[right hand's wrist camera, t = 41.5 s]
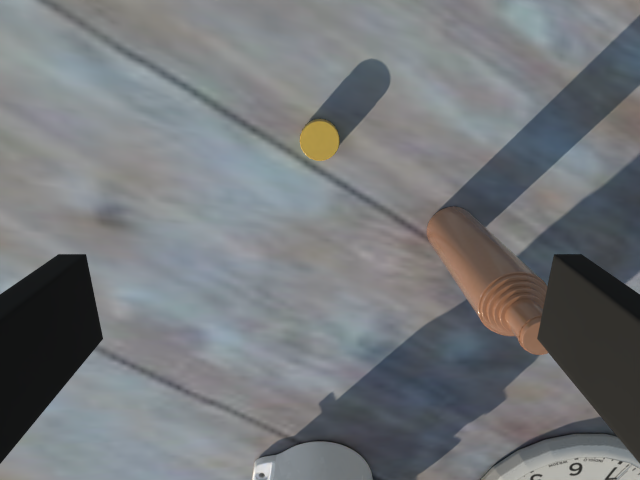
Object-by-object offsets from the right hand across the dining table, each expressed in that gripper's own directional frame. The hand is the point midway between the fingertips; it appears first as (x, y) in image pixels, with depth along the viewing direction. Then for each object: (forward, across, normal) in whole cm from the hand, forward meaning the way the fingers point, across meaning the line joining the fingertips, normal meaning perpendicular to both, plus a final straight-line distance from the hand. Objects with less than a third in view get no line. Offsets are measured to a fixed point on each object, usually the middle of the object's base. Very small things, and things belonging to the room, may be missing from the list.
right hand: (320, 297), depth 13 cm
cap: (+32, 0, 0) cm, 32 cm away
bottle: (+34, +14, -10) cm, 38 cm away
